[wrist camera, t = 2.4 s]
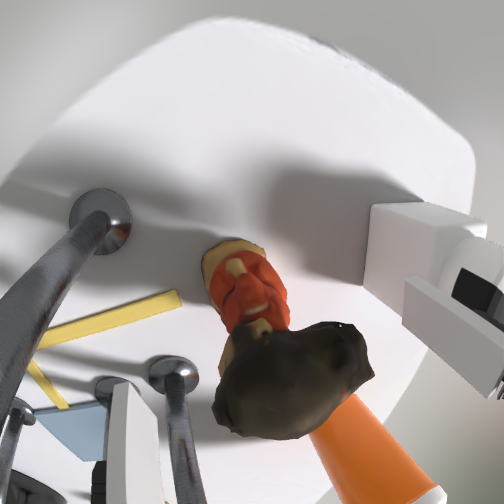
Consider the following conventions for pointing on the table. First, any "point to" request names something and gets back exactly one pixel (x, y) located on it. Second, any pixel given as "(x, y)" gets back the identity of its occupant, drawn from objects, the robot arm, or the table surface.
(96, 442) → the pad
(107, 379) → the gate
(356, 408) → the shaker bottle
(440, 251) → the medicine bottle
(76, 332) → the guide line
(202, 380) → the table surface
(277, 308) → the figurine
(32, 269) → the gate
